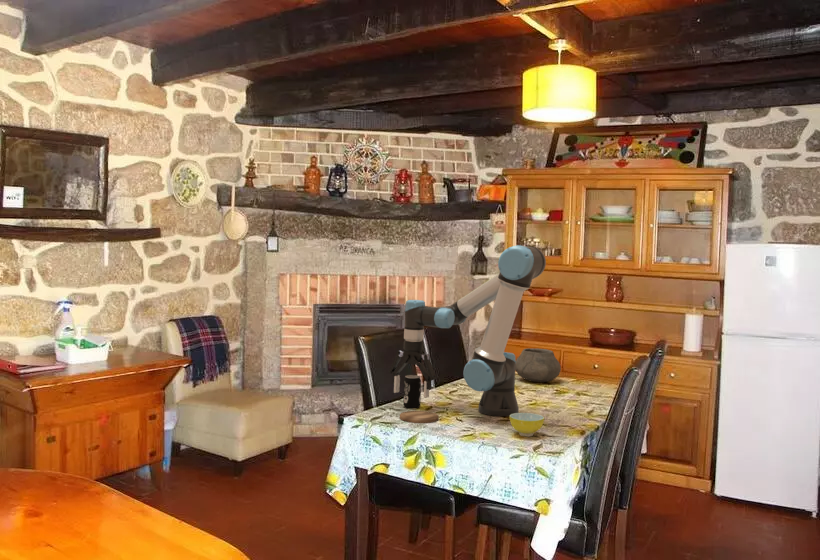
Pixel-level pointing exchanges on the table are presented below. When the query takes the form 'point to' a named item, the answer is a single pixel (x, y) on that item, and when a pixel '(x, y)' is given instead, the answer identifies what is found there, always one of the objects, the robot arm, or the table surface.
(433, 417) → the disc
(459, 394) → the table surface
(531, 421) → the bowl
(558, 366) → the clay pot
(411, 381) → the beverage can
